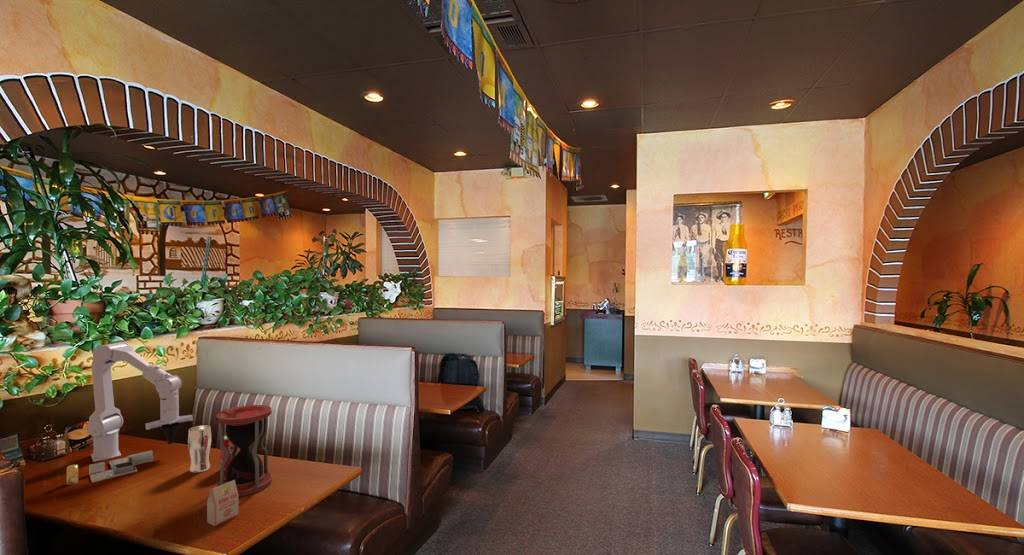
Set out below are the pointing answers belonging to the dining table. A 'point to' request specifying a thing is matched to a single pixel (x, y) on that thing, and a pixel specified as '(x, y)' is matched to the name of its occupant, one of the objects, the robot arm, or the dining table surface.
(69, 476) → the brass pin
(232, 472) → the hourglass
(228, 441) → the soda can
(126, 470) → the hinge base
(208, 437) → the beer glass
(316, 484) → the dining table surface
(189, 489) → the dining table surface
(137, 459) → the grey slotted holder
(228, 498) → the white printed box
